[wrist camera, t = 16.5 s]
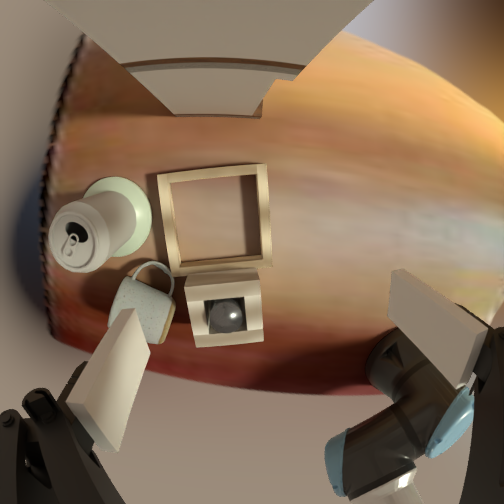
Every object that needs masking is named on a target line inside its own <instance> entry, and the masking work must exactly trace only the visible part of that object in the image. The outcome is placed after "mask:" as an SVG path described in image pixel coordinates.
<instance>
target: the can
mask: <svg viewBox="0 0 504 504" xmlns="http://www.w3.org/2000/svg"><path fill="white" fill-rule="evenodd" d="M136 224H137V222H136V212H135V209H134V206H133V205H132V203H131V202H130V201H129V199H128V198H127V197H125V196H124V195H123V194H121V193H118V192H115V191H106V192H102V193H99V194H96V195H92V196H89V197H86V198H83V199H80V200H77V201H73V202H71V203H69V204H67V205H64V206H63V207H62V208H61V209H60V210H59V211H58V212H57V213H56V215H55V217H54V220H53V221H52V223H51V226H50V228H49V236H48V239H49V246H50V249H51V252H52V254H53V256H54V258H55V259H56V260H57V262H58V263H59V264H60V265H61V266H62V267H64V268H65V269H67V270H69V271H72V272H85V273H88V272H91V271H94V270H96V269H97V268H99V267H100V266H101V265H102V264H103V263H104V262H105V261H106V260H107V259H109V258H110V257H111V256H112V255H113V254H114V253H115V252H116V251H117V250H118V249H119V248H121V247H122V246H123V245H124V244H125V243H126V242H127V241H128V240H129V239H130V238H131V237H132V235H133V233H134V232H135V228H136Z"/></svg>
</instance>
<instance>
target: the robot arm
mask: <svg viewBox="0 0 504 504" xmlns="http://www.w3.org/2000/svg"><path fill="white" fill-rule="evenodd" d="M387 316H388V317H389V318H390V319H391V320H392V321H393V322H394V323H395V325H396V326H397V327H398V329H396V330H394V331H393V332H391V333H390V334H388V335H387V336H386V337H385V338H383V339H382V340H381V341H380V342H379V343H378V344H377V346H376V347H375V348H374V349H373V351H372V352H371V354H370V356H369V358H368V360H367V363H366V367H365V373H366V376H367V378H368V380H369V381H370V383H371V384H372V386H373V387H375V388H376V389H378V390H380V391H381V392H383V393H384V394H385V395H387V396H388V397H390V398H391V399H392V400H393V402H394V404H392V405H391V406H389V407H387V408H386V409H384V410H382V411H381V412H379V413H377V414H376V415H374V416H372V417H370V418H369V419H367V420H365V421H363V422H361V423H359V424H357V425H356V426H354V427H352V428H348V429H346V430H345V431H344V432H342V433H340V434H339V435H337V436H335V437H333V438H331V439H330V440H329V441H328V442H327V444H326V446H325V464H326V470H327V474H328V477H329V480H330V483H331V484H332V486H333V490H334V492H335V493H336V495H338V496H340V497H341V496H343V497H345V496H348V498H349V500H350V502H351V503H353V504H423V501H422V499H421V497H420V495H419V493H418V491H417V489H416V487H415V485H414V483H413V478H414V476H415V474H416V471H417V468H416V466H415V464H414V460H415V459H417V458H419V457H420V456H422V455H423V454H425V456H426V457H428V458H434V457H436V456H437V455H439V454H441V453H443V452H444V451H446V450H447V449H448V448H449V447H450V446H452V445H453V444H454V443H455V442H456V441H457V440H458V439H459V438H460V437H461V435H462V434H463V433H464V432H465V431H466V430H467V428H468V427H469V425H470V424H471V422H472V421H473V429H472V439H471V447H470V454H469V461H468V466H467V472H466V477H465V482H464V486H463V491H462V495H461V499H460V503H459V504H504V327H499V328H496V329H493V328H492V327H491V326H489V325H488V324H487V323H485V322H484V321H483V320H481V319H480V318H479V317H477V316H475V315H474V314H473V313H472V312H470V311H469V310H467V309H466V308H465V307H463V306H461V305H459V304H456V303H453V302H452V301H450V300H449V299H447V298H446V297H445V296H443V295H442V294H440V293H439V292H437V291H436V290H434V289H433V288H432V287H430V286H429V285H427V284H426V283H424V282H423V281H421V280H420V279H418V278H417V277H415V276H414V275H412V274H410V273H409V272H407V271H406V270H404V269H399V270H394V271H392V274H391V287H390V297H389V307H388V315H387ZM149 355H150V351H149V348H148V345H147V342H146V339H145V337H144V334H143V331H142V328H141V325H140V322H139V318H138V315H137V312H136V309H135V308H130V309H122V310H121V311H120V313H119V314H118V316H117V317H116V319H115V320H114V322H113V323H112V325H111V326H110V328H109V329H108V331H107V332H106V334H105V336H104V337H103V339H102V340H101V342H100V344H99V345H98V347H97V348H96V350H95V352H94V353H93V355H92V357H91V358H90V360H89V361H84V362H83V363H82V364H81V365H79V366H78V367H77V368H76V370H75V371H74V373H73V374H72V376H71V377H72V378H70V379H69V381H68V384H66V386H65V388H64V389H63V391H62V393H61V394H60V396H59V398H58V400H57V401H55V399H54V397H53V396H52V394H51V393H50V391H49V390H48V389H46V388H37V389H34V390H32V391H31V392H29V393H28V394H27V395H26V396H25V397H24V399H23V401H22V407H23V408H24V409H25V410H26V412H27V414H28V415H29V416H30V418H25V419H23V418H22V417H21V415H20V414H19V413H18V411H16V410H14V409H9V410H6V411H4V412H2V413H1V415H0V504H125V502H124V501H123V499H122V498H121V496H120V495H119V493H118V491H117V490H116V488H115V487H114V485H113V484H112V482H111V480H110V479H109V477H108V475H107V473H106V472H105V470H104V468H103V466H102V465H101V463H100V461H99V459H98V457H97V455H96V454H95V453H94V451H93V450H92V446H93V444H94V442H95V443H96V445H97V446H98V447H99V448H100V449H101V450H102V451H109V452H116V453H118V452H119V449H120V445H121V442H122V438H123V434H124V431H125V427H126V424H127V421H128V418H129V415H130V411H131V409H132V405H133V402H134V399H135V396H136V393H137V390H138V387H139V384H140V381H141V378H142V375H143V372H144V369H145V367H146V364H147V361H148V358H149ZM472 372H474V373H475V374H476V375H477V376H476V379H475V381H474V383H473V385H472V387H471V390H470V391H469V388H468V387H466V386H465V384H467V383H468V381H469V379H470V377H471V375H472ZM473 391H474V396H473V395H472V392H473ZM25 460H26V463H25Z"/></svg>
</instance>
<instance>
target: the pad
mask: <svg viewBox="0 0 504 504" xmlns="http://www.w3.org/2000/svg"><path fill="white" fill-rule="evenodd" d="M106 191H115V192H118V193H121V194H123V195H124V196H125V197H127V198H128V199H129V201H130V202H131V203H132V205H133V206H134V209H135V212H136V222H137V224H136V228H135V232H134V233H133V235H132V237H131V238H130V239H129V240H128V241H127V242H126V243H125V244H124V245H123V246H122V247H121V248H119V249H118V250H117V251H116V252H115V253H114V254H113V255H112V257H121V256H126V255H129V254H131V253H133V252H134V251H136V250H137V249H138V248H139V247H140V246H141V245H142V244H143V243H144V242H145V240H146V239H147V237H148V235H149V233H150V230H151V226H152V210H151V205H150V202H149V200H148V198H147V196H146V194H145V193H144V191H143V190H142V189H141V188H140V187H139V186H138V185H137V184H136V183H134V182H133V181H131V180H129V179H126V178H123V177H108V178H104V179H101V180H99V181H97V182H96V183H94V184H93V185H92V186H91V187H90V188H89V189H88V190H87V192H86V193H85V195H84V197H83V198H86V197H89V196H92V195H96V194H99V193H102V192H106Z"/></svg>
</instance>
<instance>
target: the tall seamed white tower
mask: <svg viewBox="0 0 504 504" xmlns="http://www.w3.org/2000/svg"><path fill="white" fill-rule="evenodd" d="M44 1H45V2H46V3H48V4H49V5H50V6H52V7H53V8H54V9H55V10H57V11H58V12H59V13H61V14H62V15H63V16H64V17H65V18H67V19H68V20H69V21H70V22H72V23H73V24H74V25H75V26H76V27H78V28H79V29H80V30H81V31H82V32H84V33H85V34H86V35H87V36H88V37H89V38H91V39H92V40H93V41H94V42H95V43H96V44H98V45H99V46H100V47H101V48H102V49H103V50H105V51H106V52H107V53H108V54H109V55H110V56H111V57H112V58H114V59H115V60H116V61H117V62H118V63H119V64H120V65H121V66H123V67H124V68H125V69H126V70H127V71H128V72H129V73H130V74H131V75H133V76H134V77H135V78H136V79H137V80H138V81H139V82H140V83H141V84H142V85H143V86H145V87H146V88H147V89H148V90H149V91H150V92H151V93H152V94H153V95H154V96H155V97H156V98H157V99H158V100H159V101H161V102H162V103H163V104H164V105H165V106H166V107H167V108H168V109H169V110H170V111H171V112H172V113H173V114H174V115H175V116H176V117H237V118H254V119H260V118H261V117H262V104H263V98H264V96H265V94H266V93H267V91H268V90H269V88H270V87H271V85H272V84H273V82H274V81H275V79H282V80H290V81H293V80H294V79H295V78H296V77H297V76H298V74H299V73H300V72H301V71H302V70H303V69H304V68H305V67H306V66H307V65H308V64H309V63H310V62H311V61H312V59H313V58H314V57H315V56H316V55H317V54H318V53H319V52H320V51H321V50H322V49H323V48H324V47H325V46H326V45H327V44H328V43H329V42H330V41H331V40H332V39H333V38H334V37H335V36H336V35H337V34H338V33H339V32H340V31H341V30H342V29H343V28H344V27H345V26H346V25H347V24H348V23H350V22H351V21H352V20H353V19H354V18H355V17H356V16H357V15H358V14H359V13H360V12H361V11H362V10H364V9H365V7H367V6H368V5H369V4H370V3H371V2H372V1H374V0H44Z"/></svg>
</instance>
